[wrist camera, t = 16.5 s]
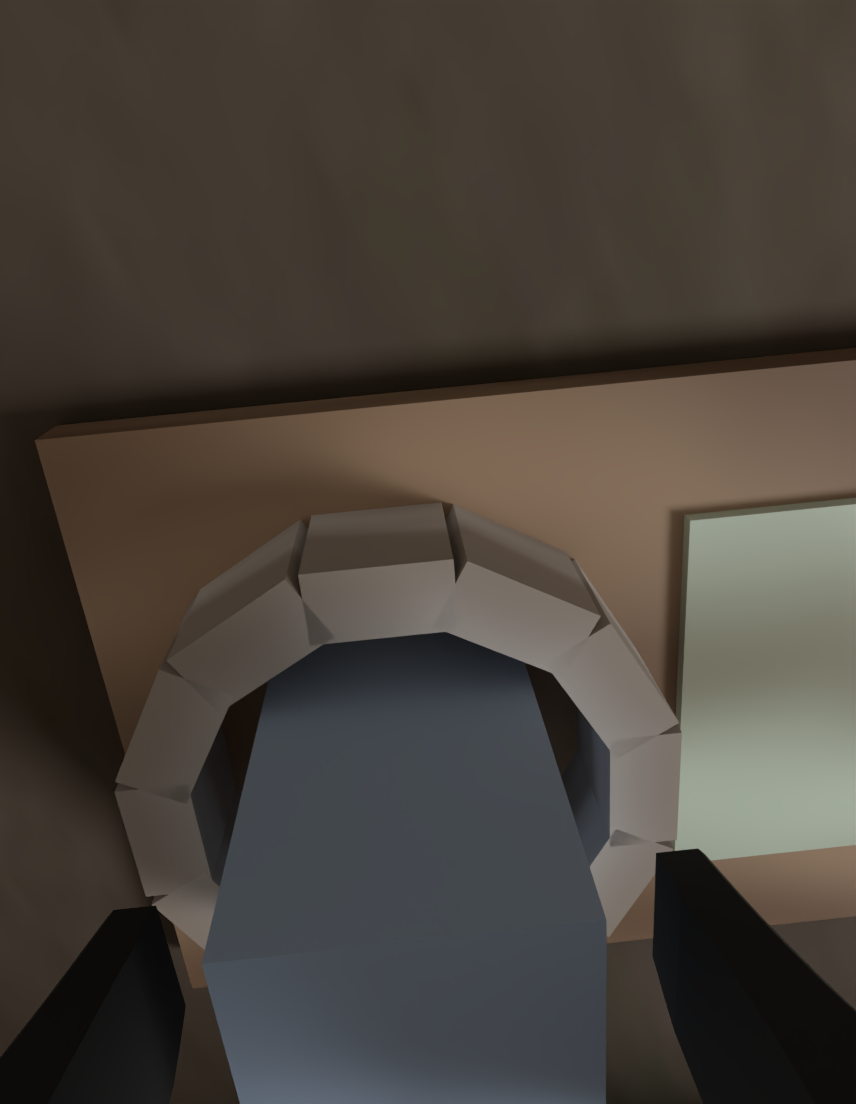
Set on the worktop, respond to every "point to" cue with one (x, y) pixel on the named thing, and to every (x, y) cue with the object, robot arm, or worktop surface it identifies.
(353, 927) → the peg block
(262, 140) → the worktop surface
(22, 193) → the worktop surface
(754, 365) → the board
